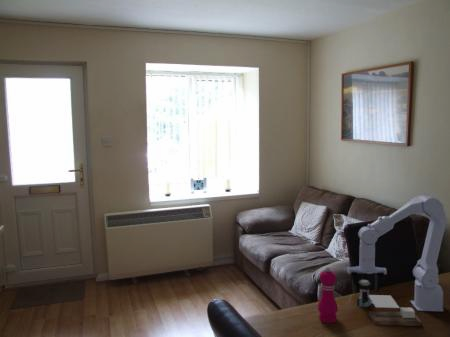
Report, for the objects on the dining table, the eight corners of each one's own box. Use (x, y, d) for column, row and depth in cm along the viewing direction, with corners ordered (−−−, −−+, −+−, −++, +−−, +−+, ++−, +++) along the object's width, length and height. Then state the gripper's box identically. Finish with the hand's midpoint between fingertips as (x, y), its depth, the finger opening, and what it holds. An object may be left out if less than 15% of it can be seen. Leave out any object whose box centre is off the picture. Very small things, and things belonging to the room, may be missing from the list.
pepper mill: (338, 315, 143) (338, 264, 141) (337, 325, 136) (337, 271, 134) (318, 313, 145) (318, 262, 143) (316, 322, 139) (316, 269, 137)
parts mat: (390, 296, 158) (390, 295, 158) (399, 308, 147) (399, 307, 147) (368, 295, 159) (368, 294, 159) (375, 307, 148) (375, 307, 148)
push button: (368, 301, 154) (369, 277, 153) (377, 307, 149) (377, 282, 148) (354, 303, 153) (354, 279, 152) (362, 309, 147) (362, 284, 146)
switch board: (413, 316, 141) (413, 312, 141) (421, 325, 134) (421, 321, 134) (369, 315, 143) (369, 310, 143) (374, 324, 136) (374, 320, 136)
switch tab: (411, 314, 139) (411, 307, 139) (414, 318, 136) (414, 311, 136) (400, 313, 140) (400, 307, 139) (403, 317, 137) (403, 311, 136)
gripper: (350, 260, 146) (349, 294, 147) (389, 261, 144) (388, 295, 145) (346, 254, 153) (346, 287, 154) (383, 255, 151) (383, 288, 152)
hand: (366, 290), depth 150 cm, fingers open, 7 cm apart
